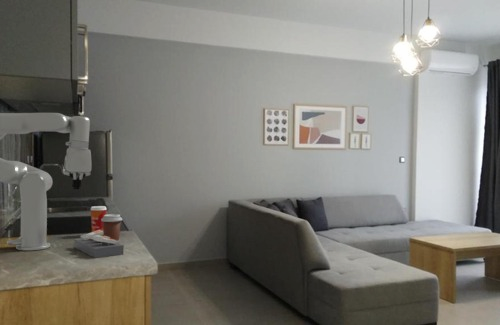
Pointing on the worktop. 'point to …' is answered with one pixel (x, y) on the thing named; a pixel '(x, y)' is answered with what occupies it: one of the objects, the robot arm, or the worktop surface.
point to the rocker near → (104, 240)
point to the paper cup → (97, 217)
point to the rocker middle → (96, 236)
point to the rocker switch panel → (98, 248)
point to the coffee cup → (112, 226)
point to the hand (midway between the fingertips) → (76, 189)
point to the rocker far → (92, 234)
